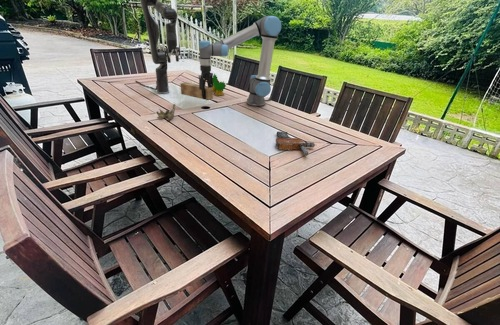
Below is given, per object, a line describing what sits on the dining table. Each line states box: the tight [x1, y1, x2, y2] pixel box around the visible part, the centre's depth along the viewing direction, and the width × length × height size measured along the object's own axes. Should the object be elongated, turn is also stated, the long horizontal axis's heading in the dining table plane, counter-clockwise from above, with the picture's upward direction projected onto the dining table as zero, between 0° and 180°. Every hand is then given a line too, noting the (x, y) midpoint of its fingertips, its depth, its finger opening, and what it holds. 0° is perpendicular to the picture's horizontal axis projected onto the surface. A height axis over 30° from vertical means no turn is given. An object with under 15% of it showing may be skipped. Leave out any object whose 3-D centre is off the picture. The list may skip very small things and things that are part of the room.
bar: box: [179, 81, 214, 101], centre depth 197 cm, size 26×6×8 cm, turn 60°
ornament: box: [212, 73, 227, 96], centre depth 234 cm, size 21×8×15 cm, turn 42°
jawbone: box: [156, 103, 176, 122], centre depth 174 cm, size 9×15×10 cm
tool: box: [275, 131, 316, 157], centre depth 149 cm, size 4×27×30 cm
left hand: (173, 62), depth 203 cm, fingers open, 8 cm apart
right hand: (206, 97), depth 194 cm, fingers closed on bar, 6 cm apart
